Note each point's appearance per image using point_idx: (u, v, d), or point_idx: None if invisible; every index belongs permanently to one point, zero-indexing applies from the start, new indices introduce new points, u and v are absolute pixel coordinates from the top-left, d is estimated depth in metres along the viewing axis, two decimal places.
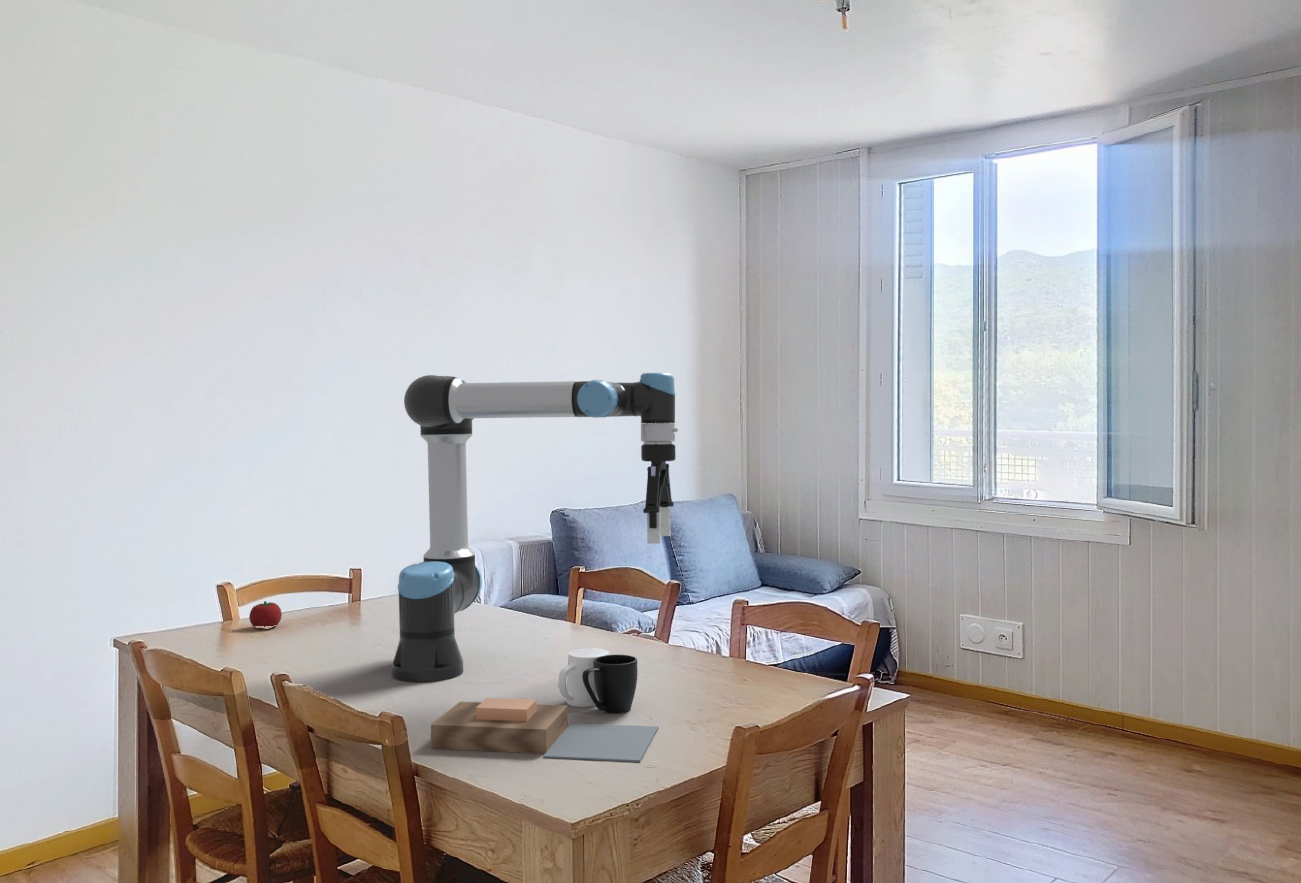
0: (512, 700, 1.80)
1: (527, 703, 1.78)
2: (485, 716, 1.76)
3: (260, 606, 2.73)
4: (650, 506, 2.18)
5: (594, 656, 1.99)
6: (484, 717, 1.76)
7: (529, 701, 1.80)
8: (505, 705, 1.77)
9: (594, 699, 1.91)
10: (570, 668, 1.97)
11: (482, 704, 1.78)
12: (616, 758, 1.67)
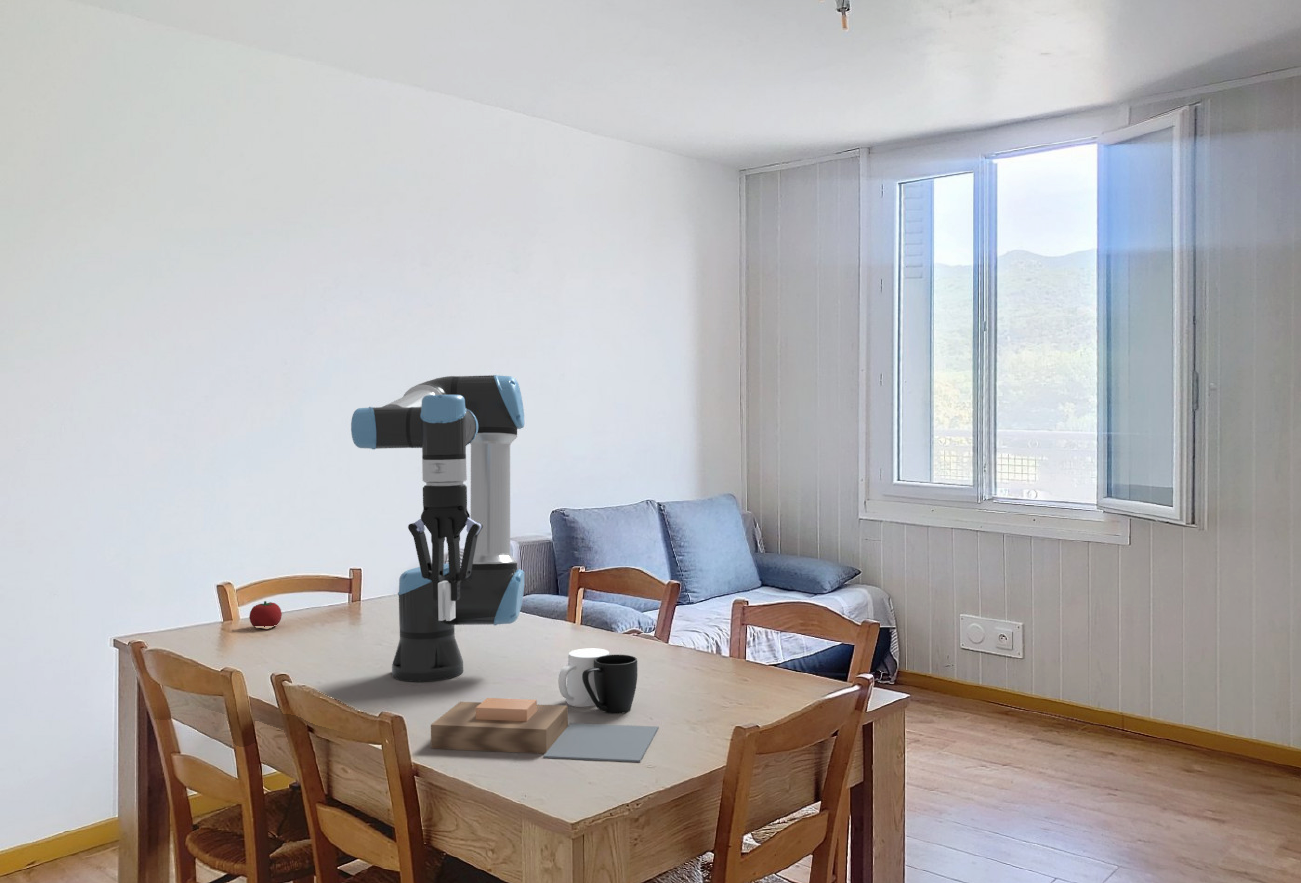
0: (512, 700, 1.80)
1: (527, 703, 1.78)
2: (485, 716, 1.76)
3: (260, 606, 2.73)
4: None
5: (594, 656, 1.99)
6: (484, 717, 1.76)
7: (529, 701, 1.80)
8: (505, 705, 1.77)
9: (594, 699, 1.91)
10: (570, 668, 1.97)
11: (482, 704, 1.78)
12: (616, 758, 1.67)
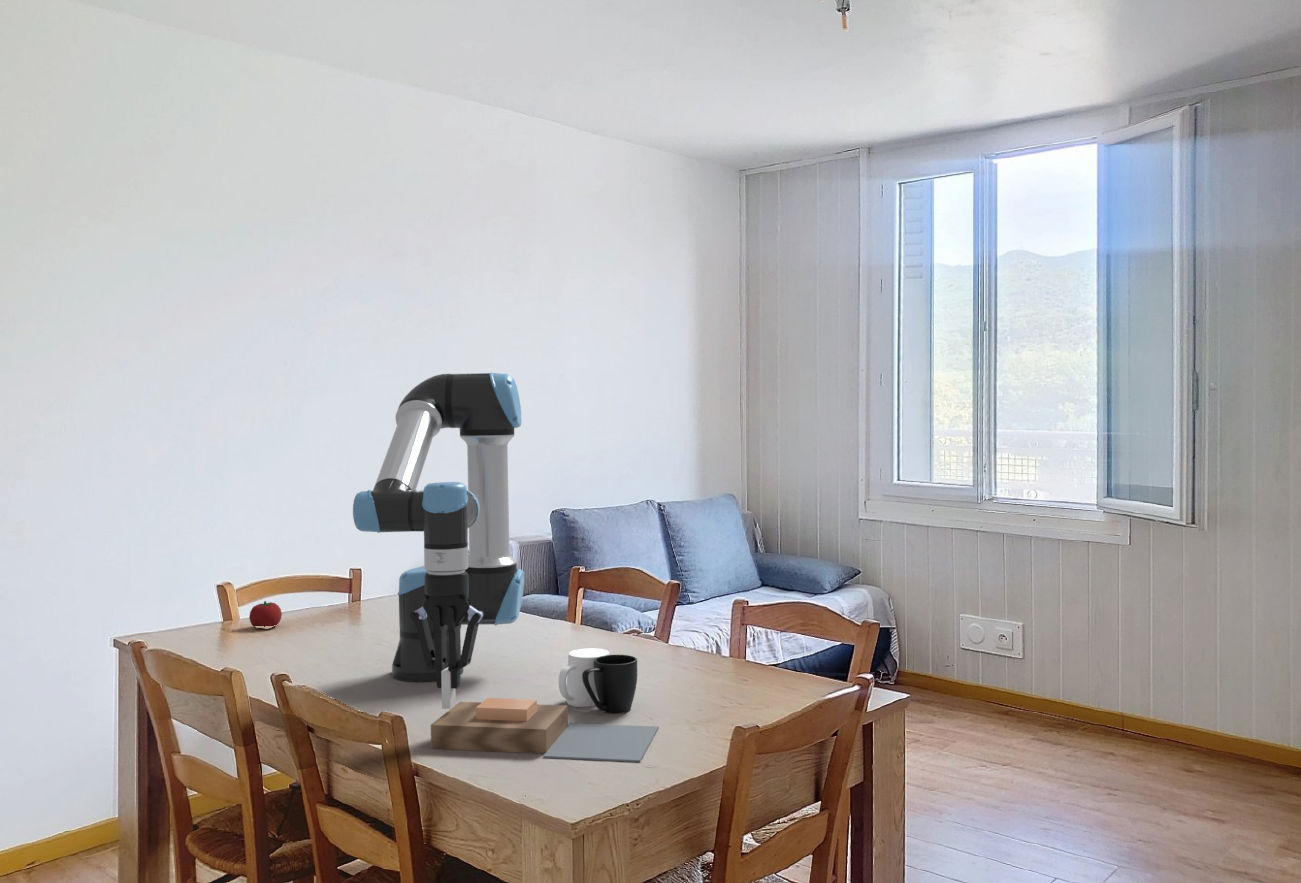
0: (512, 700, 1.80)
1: (527, 703, 1.78)
2: (485, 716, 1.76)
3: (260, 606, 2.73)
4: None
5: (594, 656, 1.99)
6: (484, 717, 1.76)
7: (529, 701, 1.80)
8: (505, 705, 1.77)
9: (594, 699, 1.91)
10: (570, 668, 1.97)
11: (482, 704, 1.78)
12: (616, 758, 1.67)
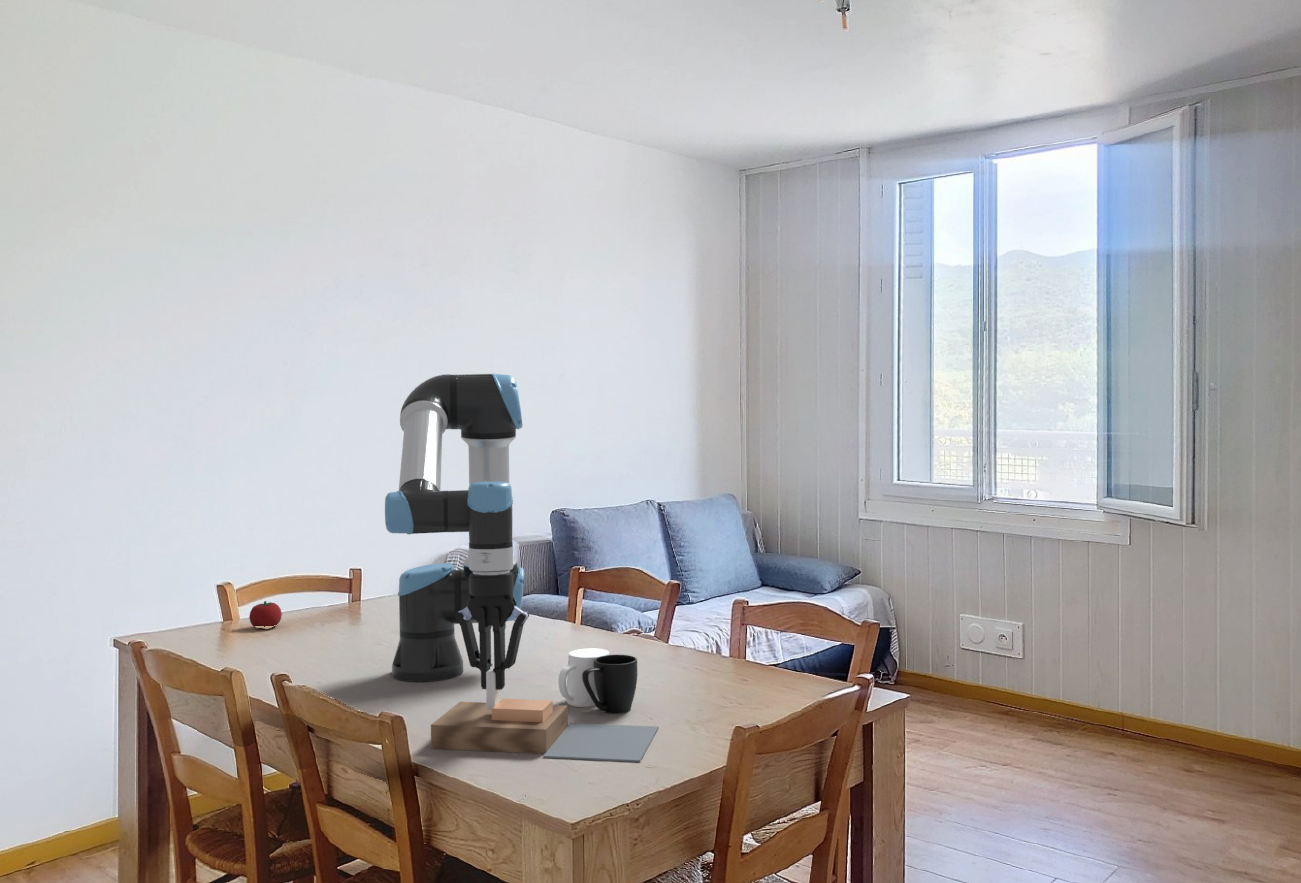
0: (528, 701, 1.80)
1: (543, 704, 1.78)
2: (501, 717, 1.76)
3: (260, 606, 2.73)
4: None
5: (594, 656, 1.99)
6: (500, 718, 1.76)
7: (545, 702, 1.79)
8: (521, 706, 1.77)
9: (594, 699, 1.91)
10: (570, 668, 1.97)
11: (498, 705, 1.78)
12: (616, 758, 1.67)
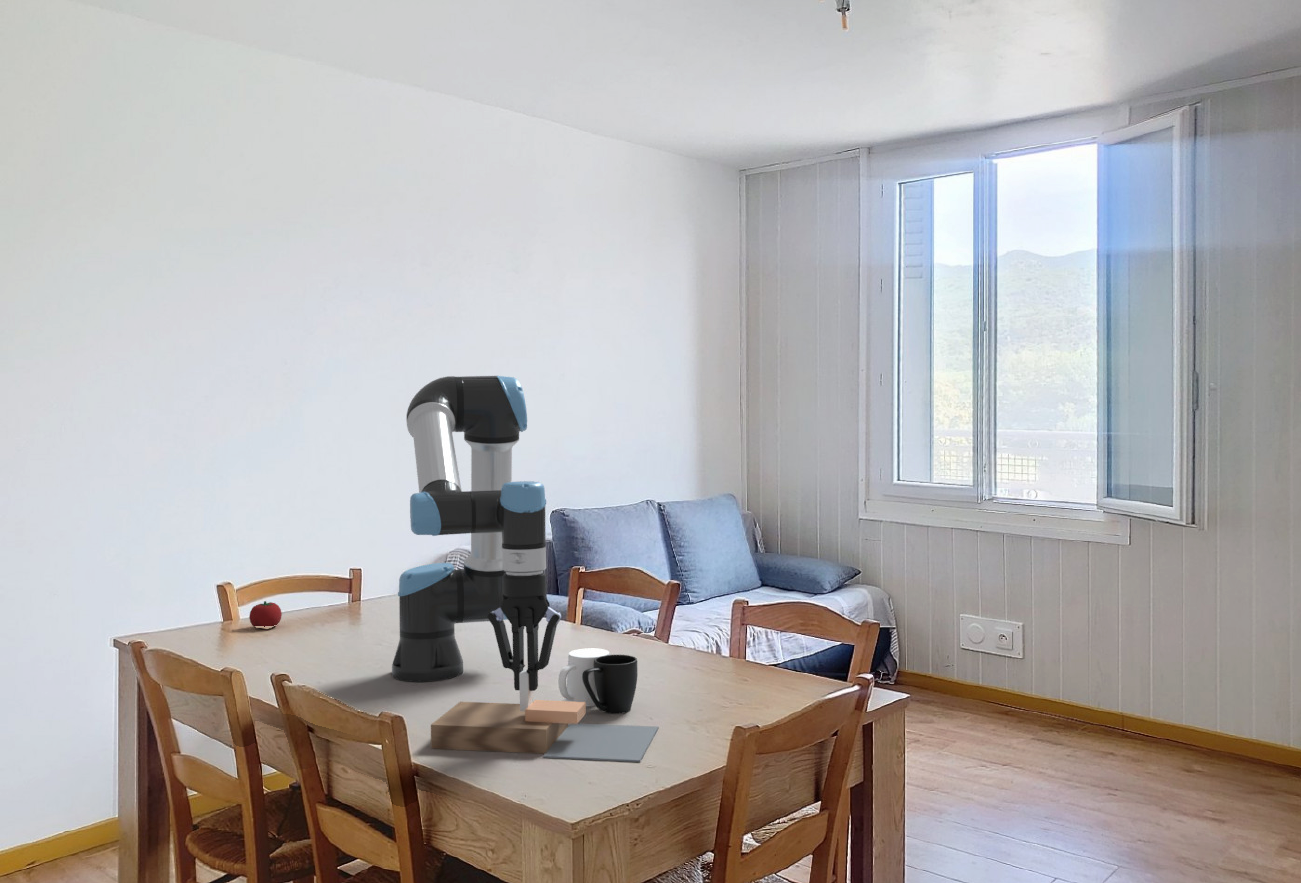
0: (561, 702, 1.79)
1: (576, 705, 1.77)
2: (535, 718, 1.74)
3: (260, 606, 2.73)
4: None
5: (594, 656, 1.99)
6: (534, 719, 1.74)
7: (578, 703, 1.78)
8: (554, 708, 1.75)
9: (594, 699, 1.91)
10: (570, 668, 1.97)
11: (531, 706, 1.76)
12: (616, 758, 1.67)
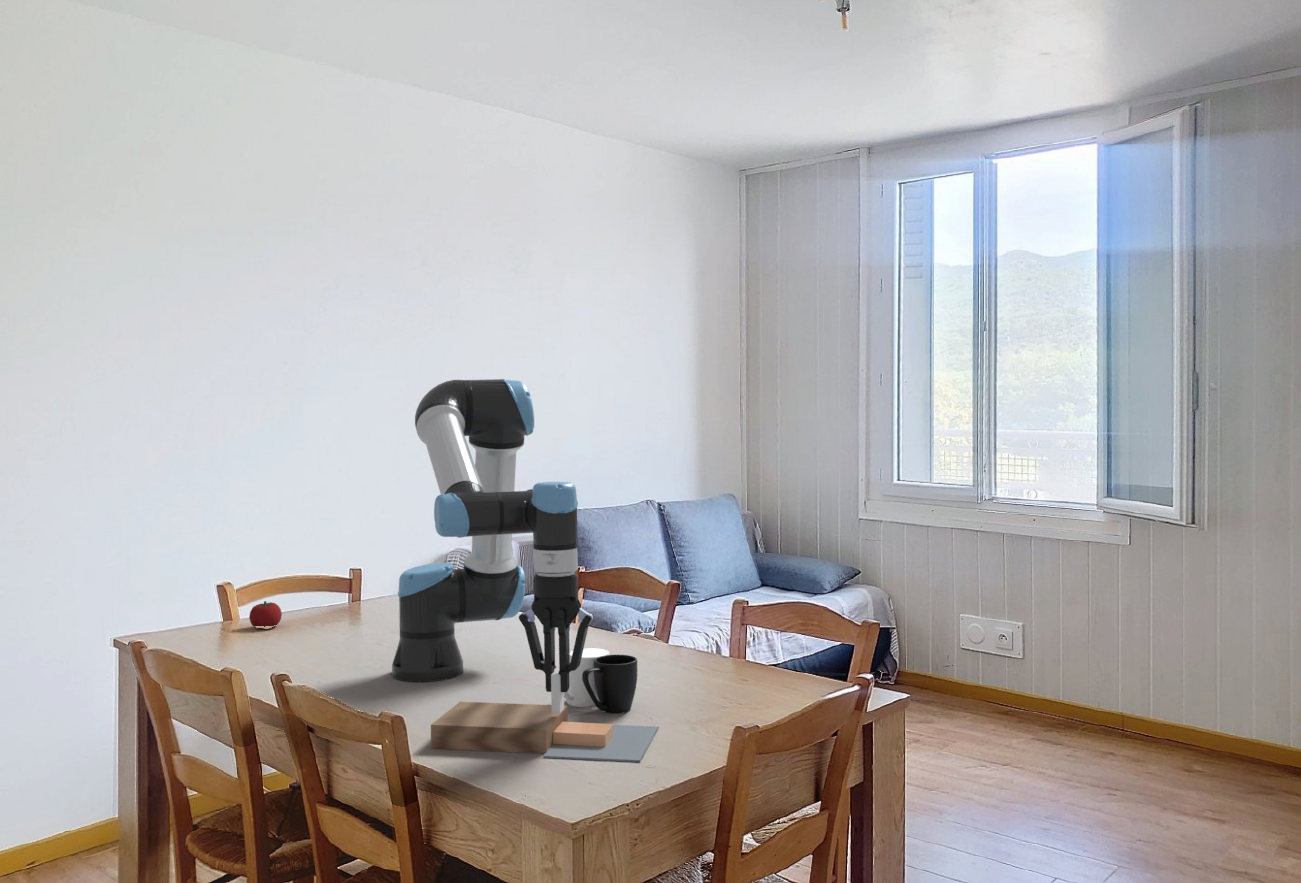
0: (588, 724, 1.78)
1: (604, 728, 1.76)
2: (562, 741, 1.74)
3: (260, 606, 2.73)
4: None
5: (594, 656, 1.99)
6: (561, 742, 1.74)
7: (606, 726, 1.77)
8: (582, 730, 1.75)
9: (594, 699, 1.91)
10: None
11: (559, 728, 1.76)
12: (616, 758, 1.67)
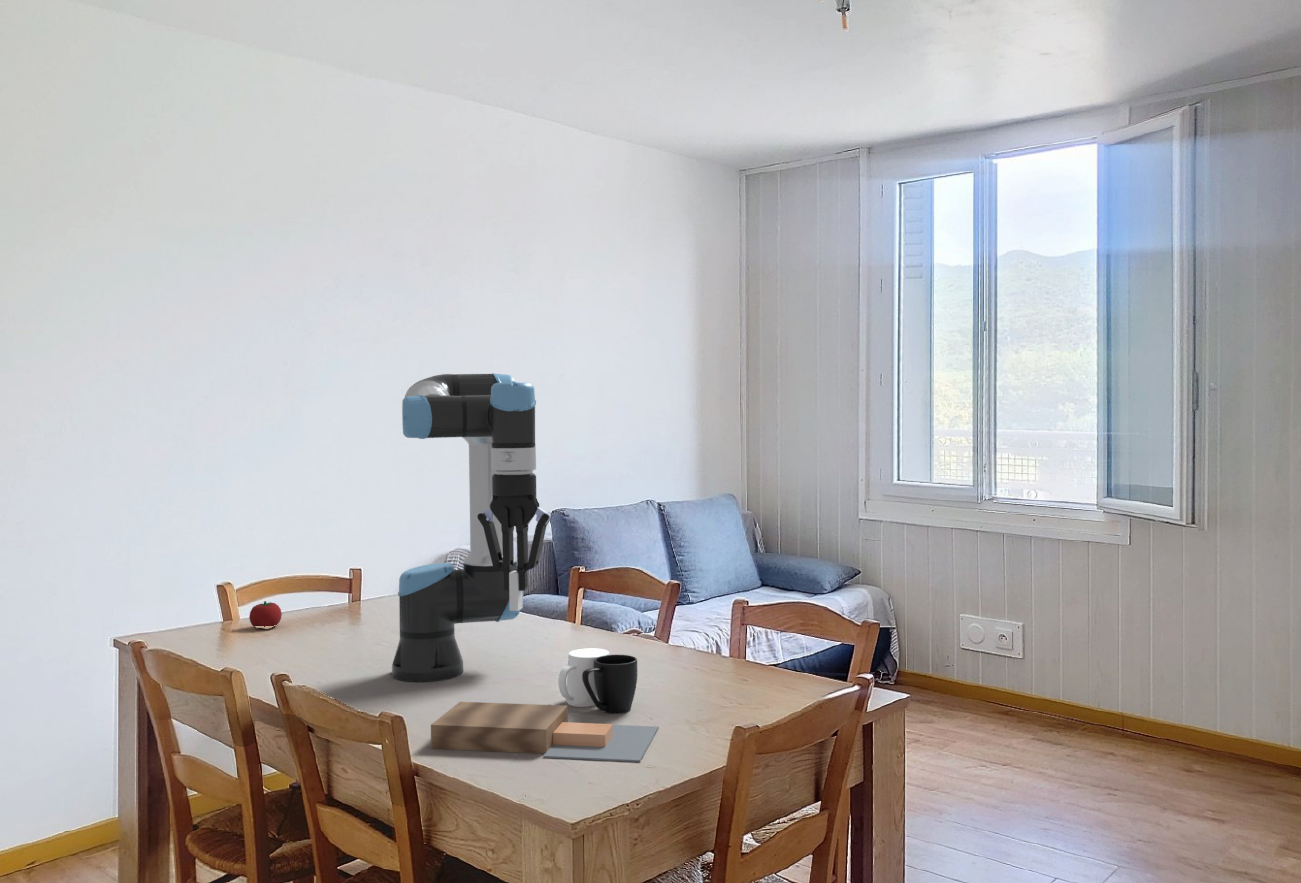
0: (588, 724, 1.78)
1: (604, 728, 1.76)
2: (562, 741, 1.74)
3: (260, 606, 2.73)
4: None
5: (594, 656, 1.99)
6: (561, 742, 1.74)
7: (606, 726, 1.77)
8: (582, 730, 1.75)
9: (594, 699, 1.91)
10: (570, 668, 1.97)
11: (559, 729, 1.76)
12: (616, 758, 1.67)
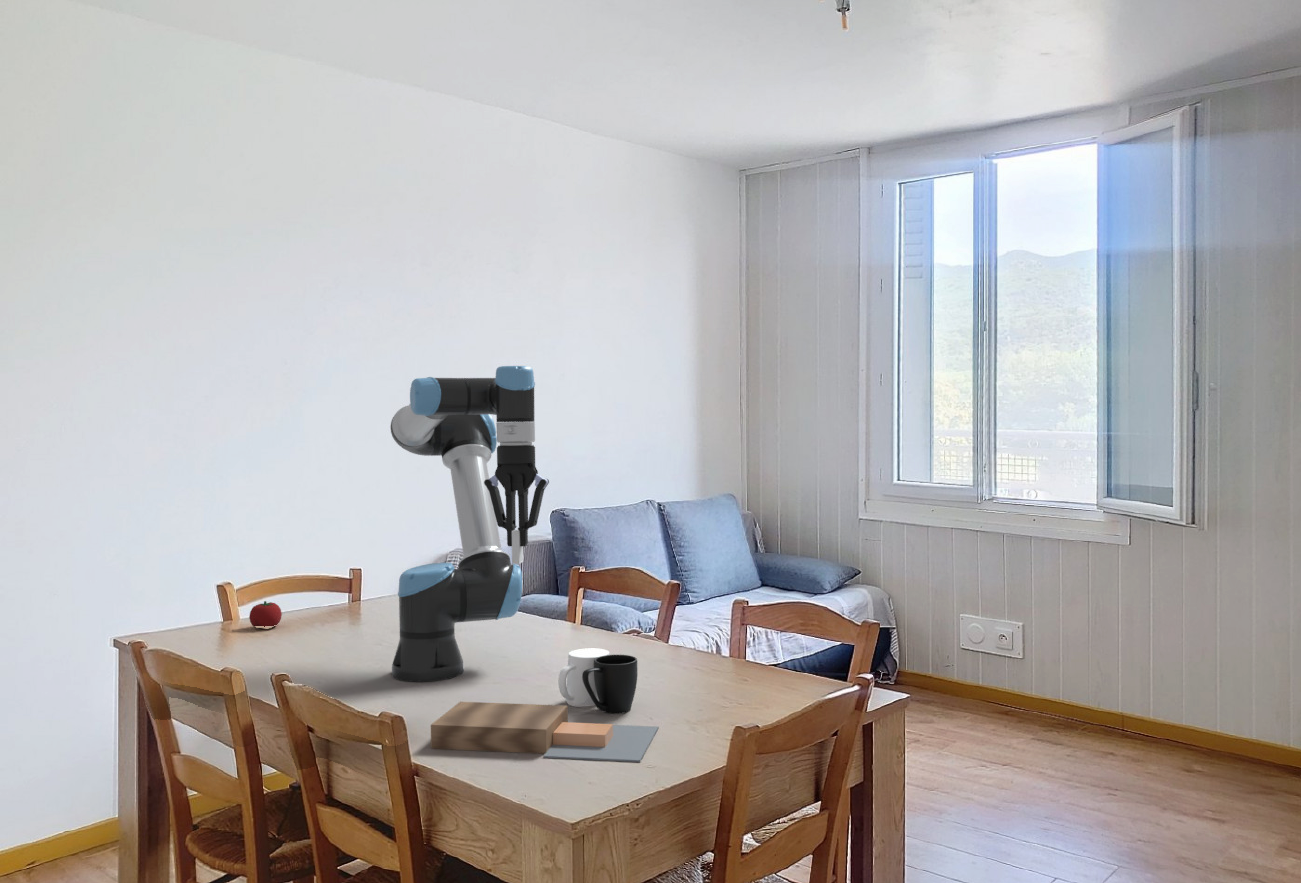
0: (588, 724, 1.78)
1: (604, 728, 1.76)
2: (562, 741, 1.74)
3: (260, 606, 2.73)
4: None
5: (594, 656, 1.99)
6: (561, 742, 1.74)
7: (606, 726, 1.77)
8: (582, 730, 1.75)
9: (594, 699, 1.91)
10: (570, 668, 1.97)
11: (559, 729, 1.76)
12: (616, 758, 1.67)
